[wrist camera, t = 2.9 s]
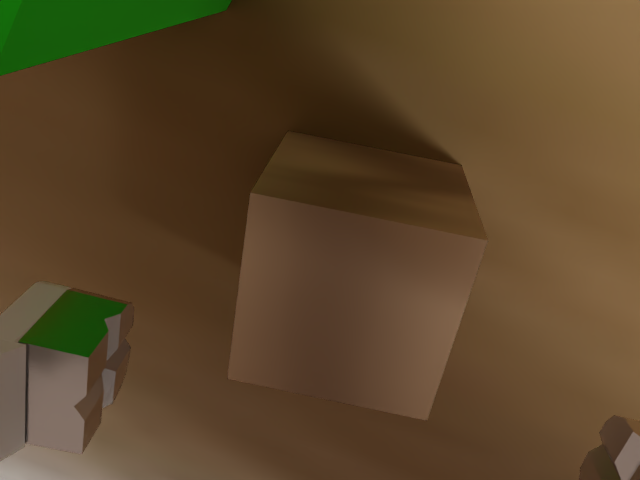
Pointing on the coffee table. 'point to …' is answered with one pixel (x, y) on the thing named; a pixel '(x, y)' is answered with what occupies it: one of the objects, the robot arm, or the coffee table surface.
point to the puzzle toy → (84, 25)
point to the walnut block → (354, 274)
